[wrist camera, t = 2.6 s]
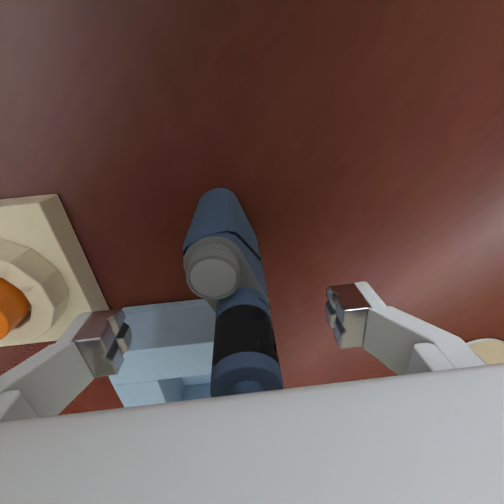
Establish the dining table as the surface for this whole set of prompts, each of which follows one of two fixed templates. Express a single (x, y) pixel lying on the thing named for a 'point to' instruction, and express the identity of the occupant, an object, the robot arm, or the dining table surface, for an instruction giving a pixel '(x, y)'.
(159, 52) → the dining table surface
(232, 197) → the vaping device
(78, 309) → the button box
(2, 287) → the orange button
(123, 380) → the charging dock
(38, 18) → the dining table surface
